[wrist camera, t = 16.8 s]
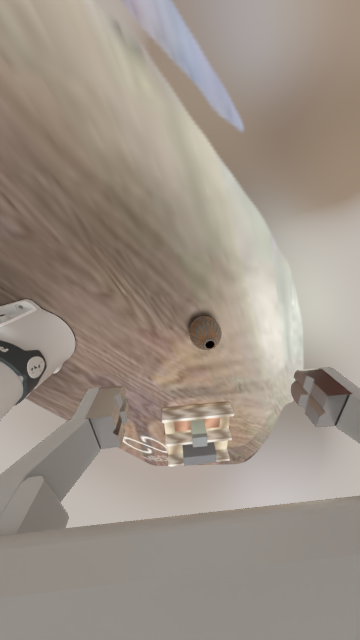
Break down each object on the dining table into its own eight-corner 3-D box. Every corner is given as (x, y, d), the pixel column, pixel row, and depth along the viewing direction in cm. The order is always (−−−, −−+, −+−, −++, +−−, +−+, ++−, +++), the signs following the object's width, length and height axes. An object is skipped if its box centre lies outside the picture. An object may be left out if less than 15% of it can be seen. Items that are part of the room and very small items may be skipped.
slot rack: (168, 453, 61) (168, 466, 57) (162, 408, 52) (162, 420, 48) (225, 447, 61) (229, 460, 58) (229, 401, 53) (233, 413, 49)
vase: (210, 340, 44) (220, 362, 36) (184, 334, 43) (187, 356, 35) (220, 315, 41) (233, 333, 33) (192, 308, 40) (198, 325, 32)
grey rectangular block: (190, 426, 54) (193, 447, 49) (190, 417, 53) (192, 438, 47) (203, 425, 54) (207, 446, 49) (203, 416, 53) (207, 436, 47)
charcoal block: (182, 448, 59) (184, 465, 54) (182, 440, 57) (183, 457, 52) (212, 445, 59) (216, 462, 54) (212, 437, 57) (216, 454, 53)
